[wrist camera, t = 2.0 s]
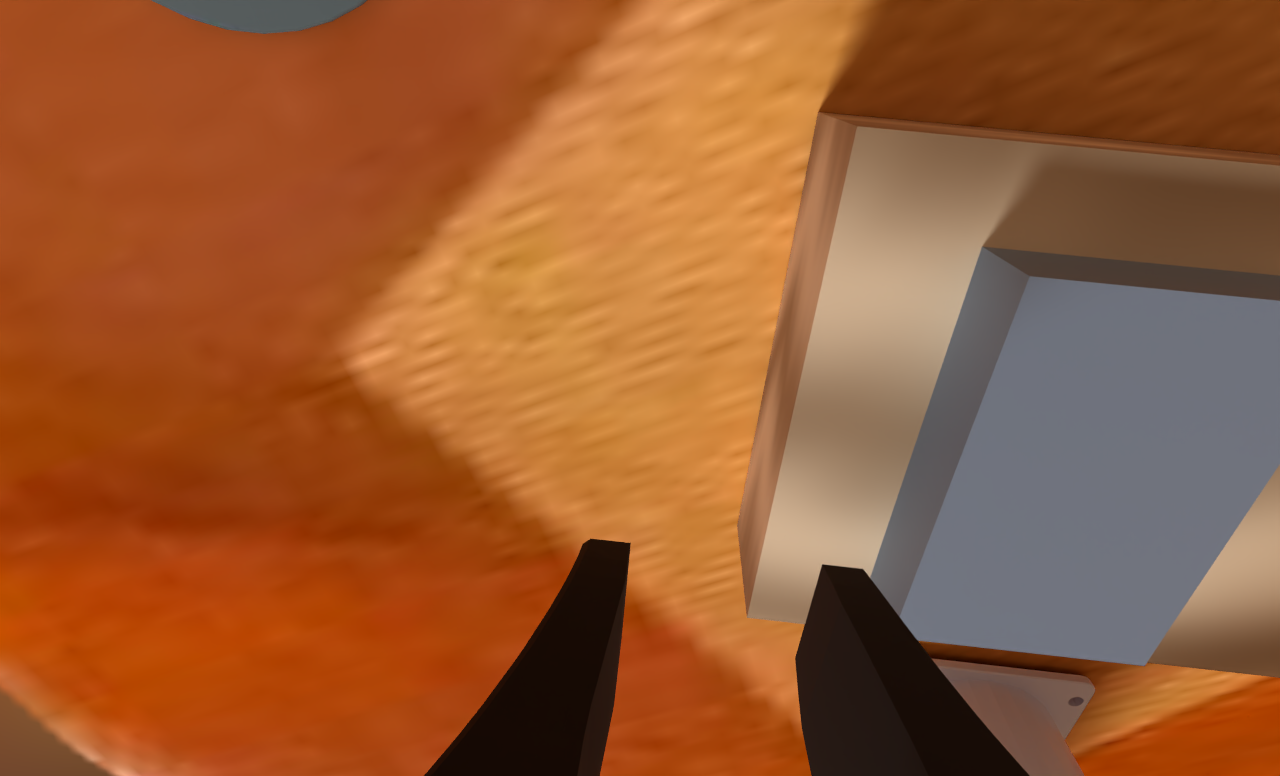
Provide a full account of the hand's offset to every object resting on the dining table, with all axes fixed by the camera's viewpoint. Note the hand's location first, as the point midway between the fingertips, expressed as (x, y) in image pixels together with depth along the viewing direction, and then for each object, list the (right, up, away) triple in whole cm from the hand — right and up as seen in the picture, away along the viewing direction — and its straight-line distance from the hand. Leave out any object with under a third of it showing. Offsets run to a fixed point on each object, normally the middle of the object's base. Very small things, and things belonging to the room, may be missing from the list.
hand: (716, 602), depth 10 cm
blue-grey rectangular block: (+8, +2, +5) cm, 10 cm away
